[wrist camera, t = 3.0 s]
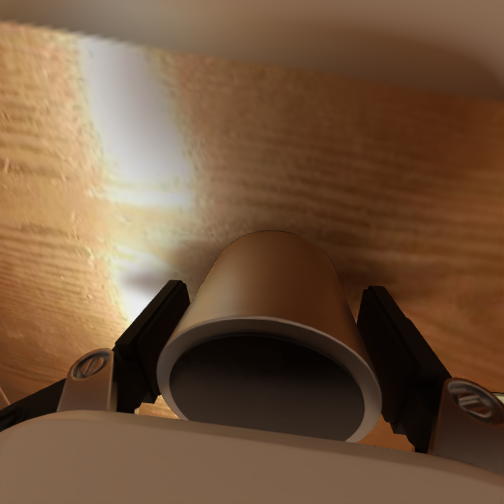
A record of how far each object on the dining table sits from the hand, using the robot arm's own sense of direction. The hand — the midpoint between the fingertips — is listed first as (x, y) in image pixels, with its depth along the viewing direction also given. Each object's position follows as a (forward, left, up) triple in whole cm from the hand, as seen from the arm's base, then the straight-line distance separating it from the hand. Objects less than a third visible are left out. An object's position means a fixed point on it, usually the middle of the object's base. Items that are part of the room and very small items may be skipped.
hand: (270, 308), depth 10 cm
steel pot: (0, 0, -2) cm, 2 cm away
